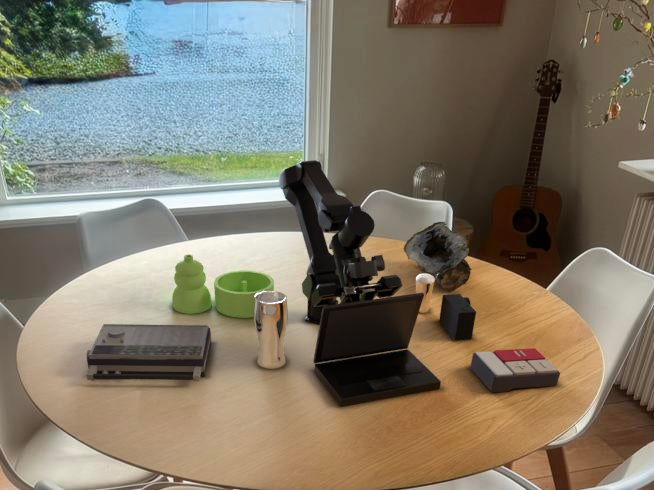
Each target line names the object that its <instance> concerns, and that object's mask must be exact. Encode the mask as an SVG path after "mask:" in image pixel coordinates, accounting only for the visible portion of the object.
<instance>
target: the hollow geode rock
mask: <svg viewBox="0 0 654 490" xmlns="http://www.w3.org/2000/svg"><path fill="white" fill-rule="evenodd" d="M446 225H447V222H445V221H437V222H434V223H432V224H431V225H428V226H427V227H425V228H424V229H422V230H420V231H418V232H415V233H414V234H413V235H412V236H411V237H409V239H408V240H407V241H406V243H404V246H403V252H404V253H405V254H406V257H407V259H408V260H411V261H413V262H415V263H416V264H417V267H418V268H421V270H422V271H424V272H425V273H426V274H430V275H432V276H433V277H434V278H436V279H435V283H436V282H437V284H438V285H439V287H440V288H441V289H443V290H445V291H446V292H448V293H453V292H454V291H456V290H458V289H459V288H461V287H462V286H464V285H466V284H467V283H468V281H469V279H470V276H471V273H472V270H473V269H472V268H471V266H470V264H469V263H468V261H467V260H466V258H467V257H468V256H469V253H470V248H469V247H468V239H467V238H466V237H465V236H464V235H463V234H461V233H459V232H457V231H453V230H452V229H450V227H449V226H446ZM438 273H439V274H438ZM437 275H438V276H437ZM436 276H437V277H436Z"/></svg>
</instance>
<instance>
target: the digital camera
mask: <svg viewBox="0 0 654 490" xmlns="http://www.w3.org/2000/svg"><path fill="white" fill-rule="evenodd" d="M476 316H477V311H476V310H475V308H474V307H473V306H472V303H471V300H470V298H469V297H468V296H465V297H463V295H462V294H460V293H449V294H442V298H441V305H440V313H439V319H438V320H439V321H438V322H439V323H440V324H441V326H442V327H443V328H444V329H445V330H446V332H447V333H448V335H450V337H451V338H452V339H453V340H454V341H464V340H466V341H467V340H472V339H473V334H474V327H475V321H476Z"/></svg>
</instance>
